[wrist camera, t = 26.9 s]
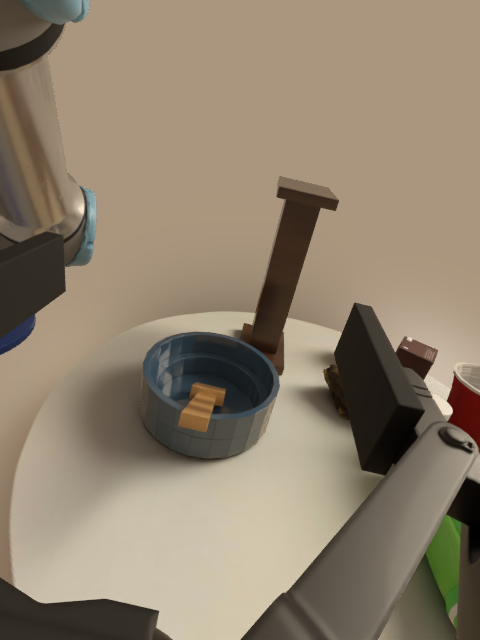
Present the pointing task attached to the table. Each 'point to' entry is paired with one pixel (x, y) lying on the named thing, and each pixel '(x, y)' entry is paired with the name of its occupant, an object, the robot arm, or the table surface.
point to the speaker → (446, 563)
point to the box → (416, 356)
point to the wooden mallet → (201, 406)
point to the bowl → (216, 370)
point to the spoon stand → (286, 265)
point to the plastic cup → (466, 399)
